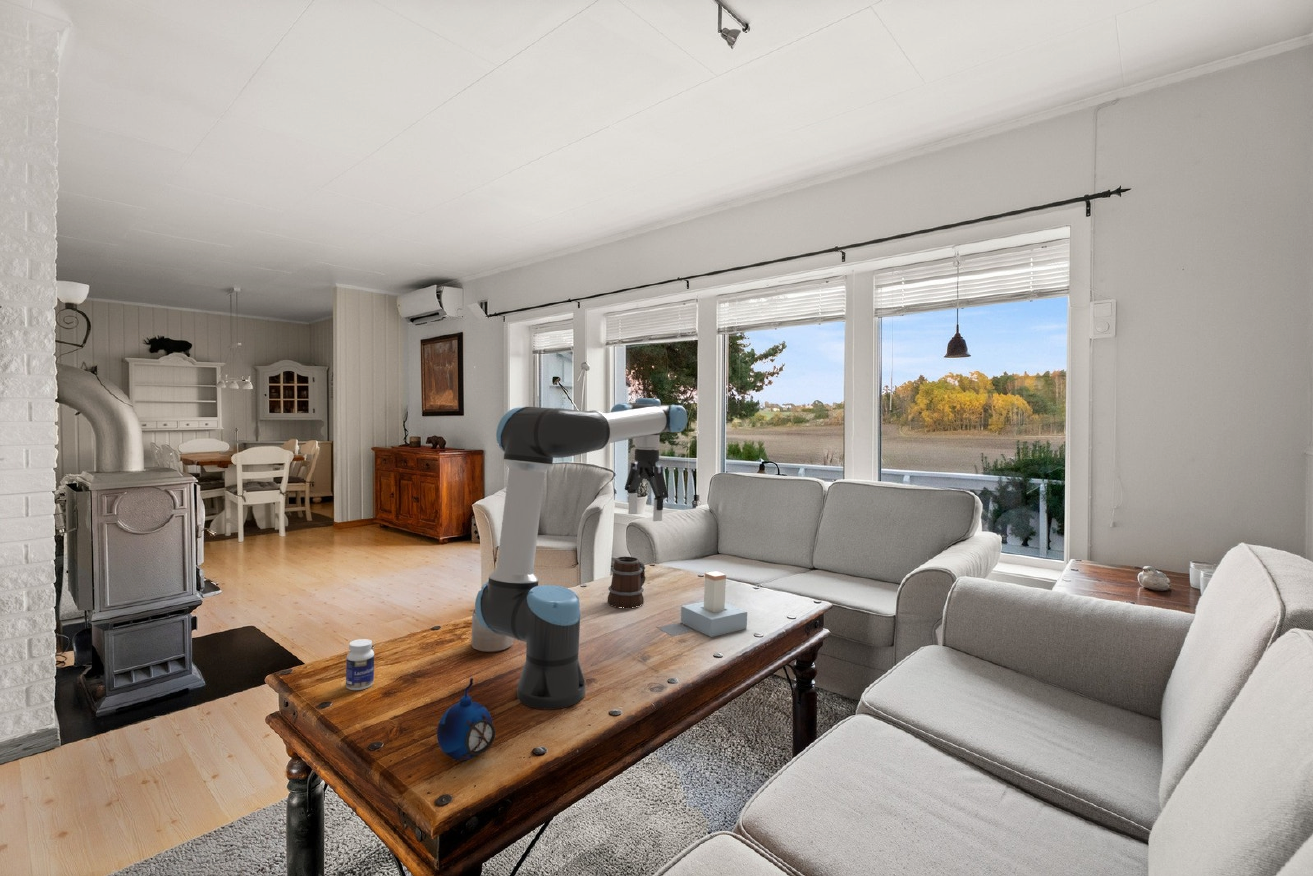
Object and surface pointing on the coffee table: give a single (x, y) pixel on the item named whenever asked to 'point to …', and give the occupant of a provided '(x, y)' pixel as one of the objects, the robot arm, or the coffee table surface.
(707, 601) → the peg
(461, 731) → the bomb
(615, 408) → the robot arm
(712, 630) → the socket block
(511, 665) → the coffee table surface
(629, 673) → the coffee table surface
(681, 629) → the mat
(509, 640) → the planter
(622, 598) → the mug
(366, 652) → the pill bottle
